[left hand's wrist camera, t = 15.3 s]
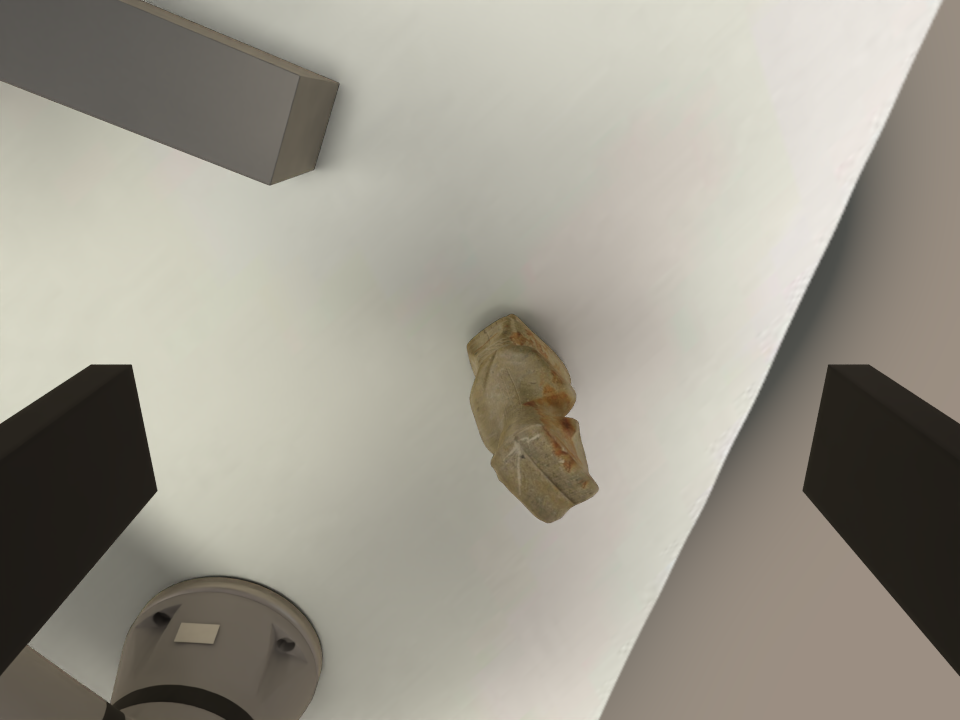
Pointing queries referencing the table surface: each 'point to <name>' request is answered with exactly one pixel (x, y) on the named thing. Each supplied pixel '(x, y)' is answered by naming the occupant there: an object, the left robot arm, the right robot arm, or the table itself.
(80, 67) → the bar
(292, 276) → the table surface
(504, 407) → the sculpture
